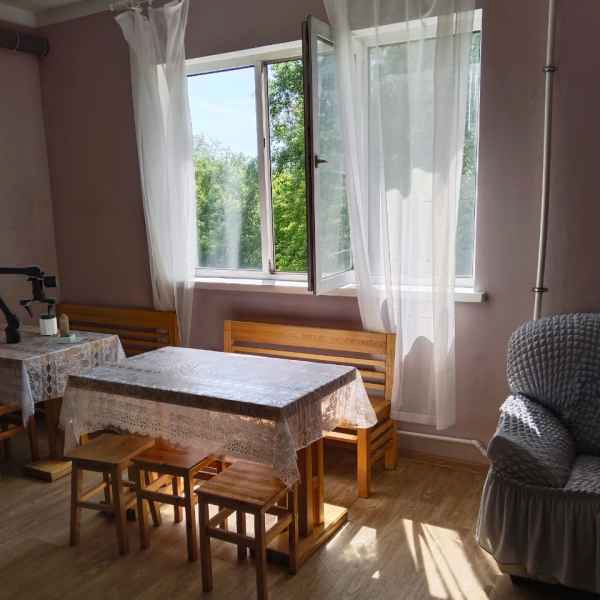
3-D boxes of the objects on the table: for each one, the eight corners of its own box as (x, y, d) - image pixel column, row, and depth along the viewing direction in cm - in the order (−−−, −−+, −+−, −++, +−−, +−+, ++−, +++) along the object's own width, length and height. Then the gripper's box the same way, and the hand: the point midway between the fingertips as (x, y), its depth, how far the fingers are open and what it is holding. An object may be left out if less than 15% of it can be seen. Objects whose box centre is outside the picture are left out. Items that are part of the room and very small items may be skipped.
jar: (42, 336, 349) (40, 315, 347) (39, 334, 356) (37, 313, 354) (59, 334, 354) (57, 313, 352) (56, 331, 361) (54, 311, 358)
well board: (44, 344, 332) (44, 339, 331) (51, 339, 343) (51, 334, 343) (79, 343, 333) (78, 338, 332) (85, 337, 345) (84, 332, 344)
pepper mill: (61, 341, 335) (59, 314, 333) (59, 339, 339) (57, 313, 336) (70, 340, 338) (68, 314, 335) (68, 338, 341) (66, 312, 339)
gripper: (60, 285, 344) (62, 313, 347) (25, 286, 343) (28, 314, 346) (53, 288, 334) (56, 317, 336) (17, 290, 332) (21, 318, 335)
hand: (40, 316), depth 339 cm, fingers open, 9 cm apart
